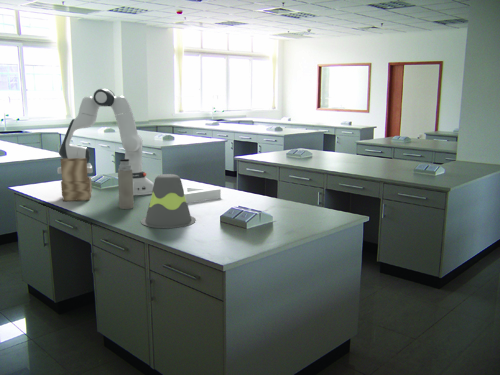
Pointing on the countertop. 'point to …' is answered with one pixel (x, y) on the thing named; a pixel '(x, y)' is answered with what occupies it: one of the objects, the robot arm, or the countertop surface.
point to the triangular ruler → (200, 194)
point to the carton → (76, 190)
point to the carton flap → (74, 169)
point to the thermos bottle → (125, 185)
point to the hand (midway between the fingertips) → (73, 171)
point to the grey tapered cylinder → (168, 204)
